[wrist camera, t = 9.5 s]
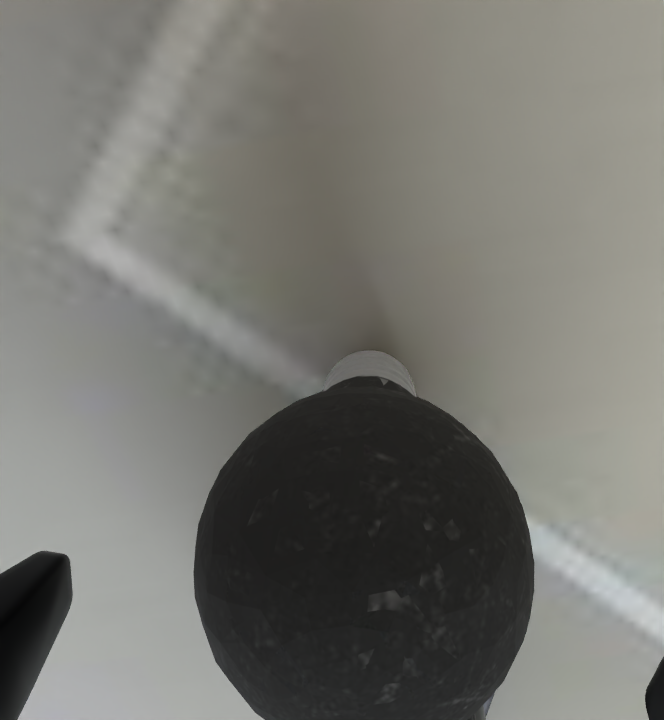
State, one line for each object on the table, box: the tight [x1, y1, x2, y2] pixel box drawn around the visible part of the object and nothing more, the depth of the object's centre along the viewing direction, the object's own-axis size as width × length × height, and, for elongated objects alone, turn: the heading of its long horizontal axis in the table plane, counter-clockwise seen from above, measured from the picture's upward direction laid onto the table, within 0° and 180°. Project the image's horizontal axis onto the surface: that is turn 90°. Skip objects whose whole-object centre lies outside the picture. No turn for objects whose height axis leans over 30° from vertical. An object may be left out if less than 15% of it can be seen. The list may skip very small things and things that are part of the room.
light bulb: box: [194, 350, 534, 720], centre depth 12 cm, size 6×6×10 cm
